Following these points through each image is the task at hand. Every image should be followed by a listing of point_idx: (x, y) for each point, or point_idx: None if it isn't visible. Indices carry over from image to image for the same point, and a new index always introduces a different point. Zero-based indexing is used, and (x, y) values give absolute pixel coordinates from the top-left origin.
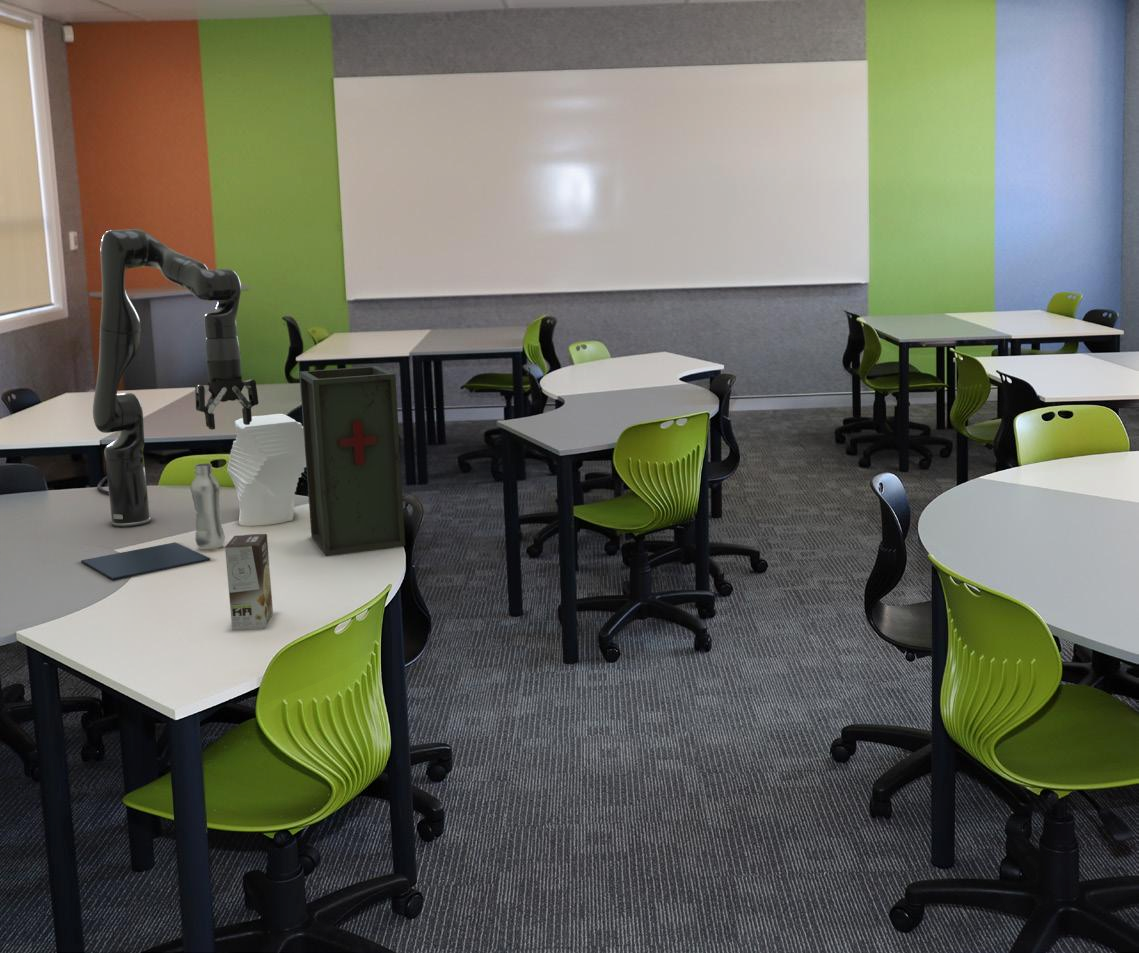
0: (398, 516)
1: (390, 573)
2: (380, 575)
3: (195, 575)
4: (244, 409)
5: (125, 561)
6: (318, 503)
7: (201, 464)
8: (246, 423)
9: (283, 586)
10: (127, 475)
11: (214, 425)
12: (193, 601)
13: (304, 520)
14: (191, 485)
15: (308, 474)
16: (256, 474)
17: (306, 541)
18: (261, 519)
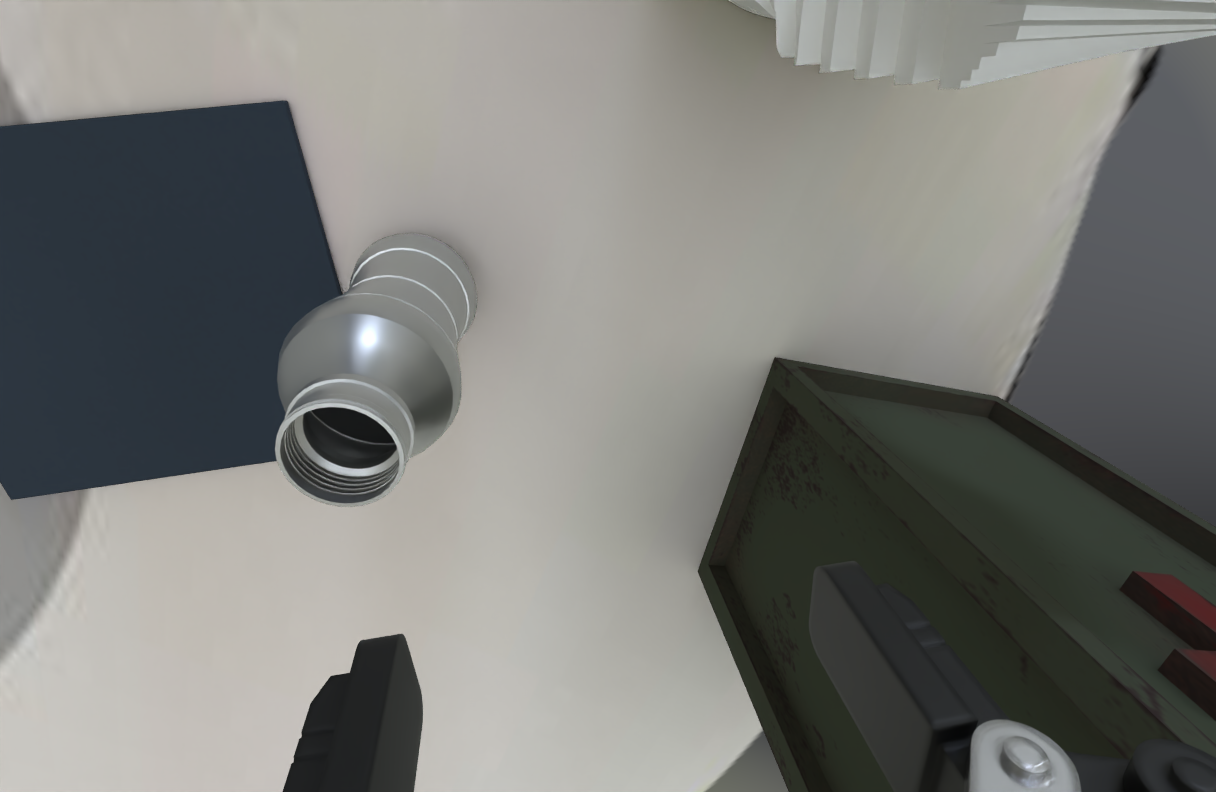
0: None
1: (733, 748)
2: (710, 752)
3: (308, 567)
4: (916, 777)
5: (43, 305)
6: (828, 505)
7: (335, 403)
8: (816, 634)
9: (500, 739)
10: None
11: (413, 749)
12: (272, 754)
13: None
14: (278, 389)
15: (898, 518)
16: (822, 43)
17: (737, 392)
18: (743, 4)
